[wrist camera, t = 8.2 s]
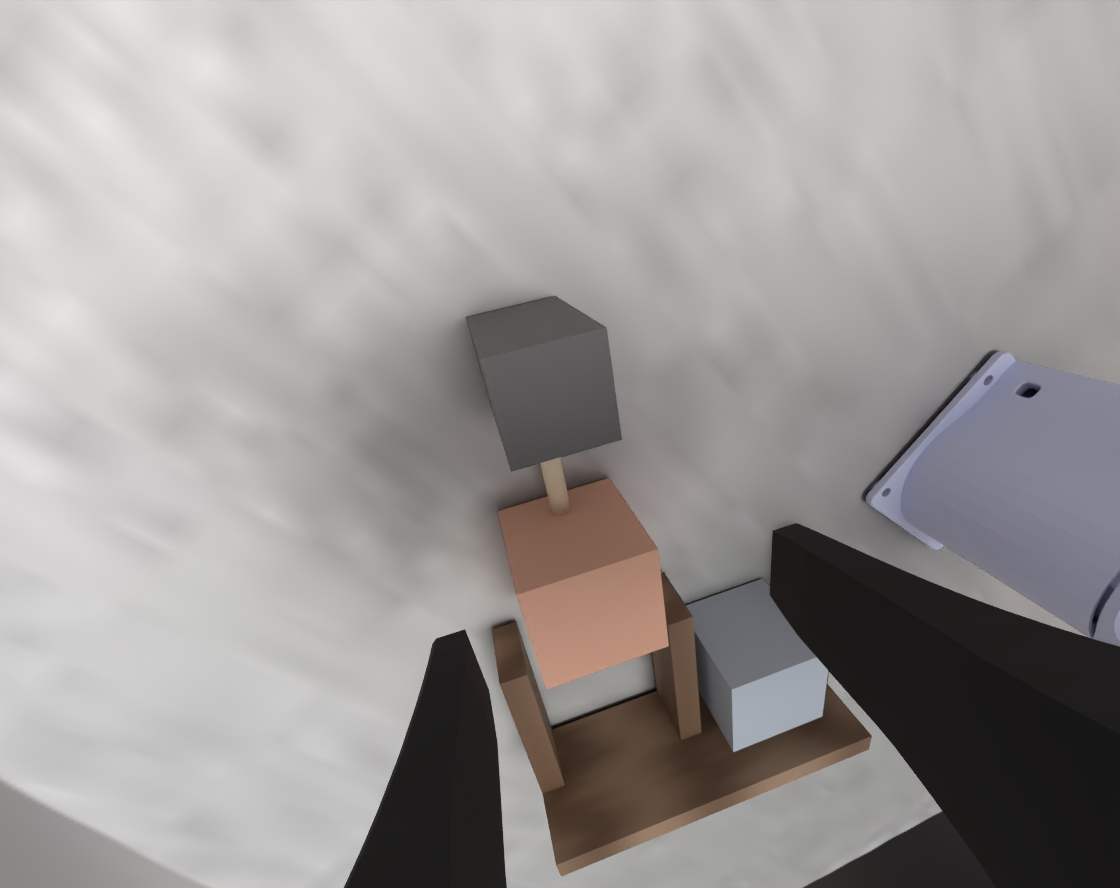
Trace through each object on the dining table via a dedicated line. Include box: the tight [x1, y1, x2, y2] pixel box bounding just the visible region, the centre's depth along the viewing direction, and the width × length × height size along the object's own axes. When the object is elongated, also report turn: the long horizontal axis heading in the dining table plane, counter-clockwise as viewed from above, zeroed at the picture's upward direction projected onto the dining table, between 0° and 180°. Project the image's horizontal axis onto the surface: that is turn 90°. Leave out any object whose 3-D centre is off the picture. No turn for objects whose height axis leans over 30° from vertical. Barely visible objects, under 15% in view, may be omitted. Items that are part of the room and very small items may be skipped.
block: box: [686, 578, 828, 752], centre depth 24 cm, size 5×5×5 cm
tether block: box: [466, 296, 669, 690], centre depth 17 cm, size 5×13×6 cm, turn 11°
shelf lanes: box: [492, 572, 872, 876], centre depth 23 cm, size 17×10×6 cm, turn 101°
